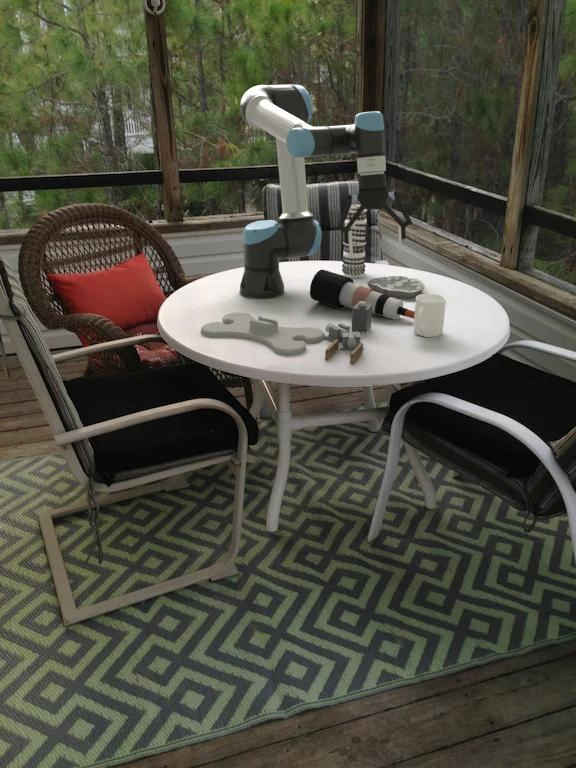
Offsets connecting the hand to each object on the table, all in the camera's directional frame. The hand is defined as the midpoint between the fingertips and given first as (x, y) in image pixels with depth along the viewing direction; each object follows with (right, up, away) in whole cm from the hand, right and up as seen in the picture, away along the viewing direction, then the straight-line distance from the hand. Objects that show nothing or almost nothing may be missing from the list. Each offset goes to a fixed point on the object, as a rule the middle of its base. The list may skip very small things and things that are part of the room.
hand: (375, 253), depth 183 cm
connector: (-3, -20, +8) cm, 22 cm away
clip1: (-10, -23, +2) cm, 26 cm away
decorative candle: (0, +4, +59) cm, 59 cm away
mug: (+15, -22, +4) cm, 27 cm away
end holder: (-10, -29, -10) cm, 32 cm away
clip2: (-7, -26, -4) cm, 27 cm away
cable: (-1, -14, +22) cm, 26 cm away
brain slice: (+13, -5, +41) cm, 44 cm away
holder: (-32, -23, +6) cm, 39 cm away
